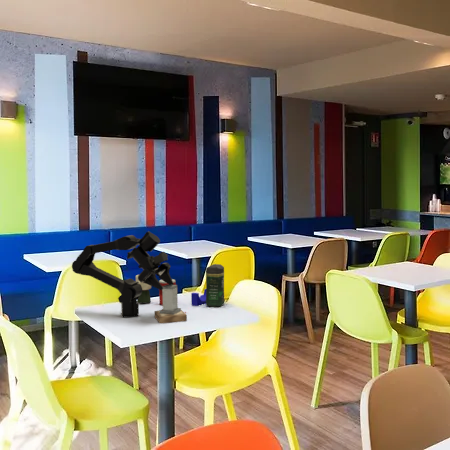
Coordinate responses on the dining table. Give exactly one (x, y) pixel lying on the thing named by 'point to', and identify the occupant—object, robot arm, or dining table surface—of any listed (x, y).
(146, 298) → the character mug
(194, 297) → the cable clip
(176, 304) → the steel housing
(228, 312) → the dining table surface
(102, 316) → the dining table surface
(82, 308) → the dining table surface
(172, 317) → the light tan tray
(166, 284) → the canned food
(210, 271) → the coffee jar
